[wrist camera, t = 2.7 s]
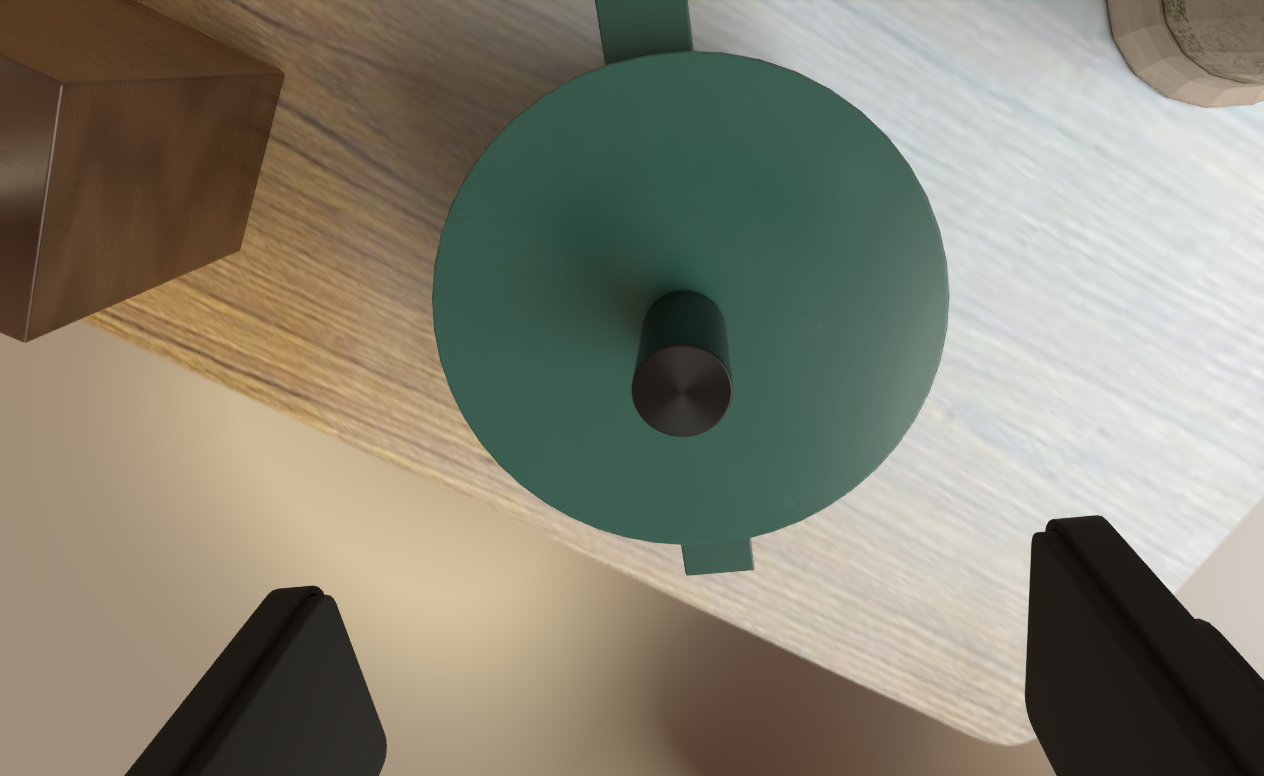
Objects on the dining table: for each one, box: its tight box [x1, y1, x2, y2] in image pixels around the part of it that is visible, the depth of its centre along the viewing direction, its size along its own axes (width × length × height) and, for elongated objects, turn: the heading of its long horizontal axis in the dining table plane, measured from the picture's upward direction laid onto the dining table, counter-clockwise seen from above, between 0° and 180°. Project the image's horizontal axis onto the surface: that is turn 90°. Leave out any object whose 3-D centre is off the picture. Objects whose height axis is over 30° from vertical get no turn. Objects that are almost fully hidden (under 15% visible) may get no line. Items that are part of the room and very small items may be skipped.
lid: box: [432, 51, 949, 545], centre depth 21 cm, size 15×15×6 cm
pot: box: [595, 0, 754, 576], centre depth 28 cm, size 14×19×10 cm
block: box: [0, 0, 284, 342], centre depth 27 cm, size 8×8×12 cm
